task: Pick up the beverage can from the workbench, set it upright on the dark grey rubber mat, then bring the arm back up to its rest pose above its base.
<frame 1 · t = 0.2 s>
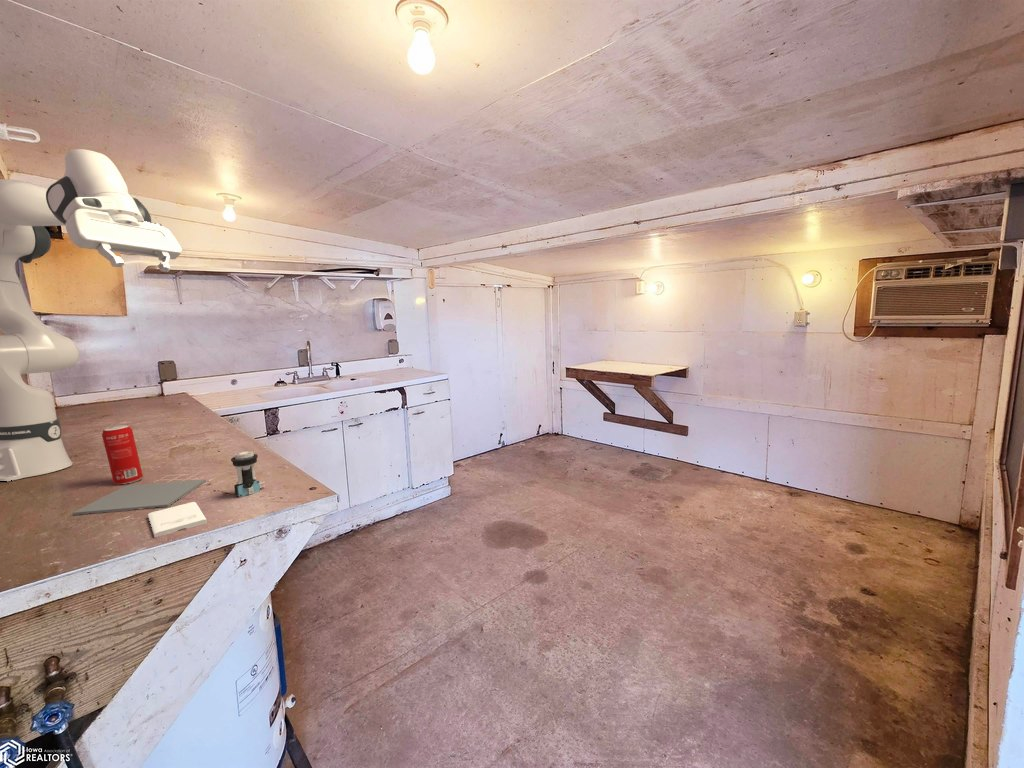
hand: (143, 268, 95), 54 cm above the counter, tool tilted 30°, fingers open, 8 cm apart
beverage can: (126, 482, 109), on the counter
external hard drive: (177, 523, 86), on the counter
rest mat: (145, 496, 98), on the counter
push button: (251, 493, 100), on the counter
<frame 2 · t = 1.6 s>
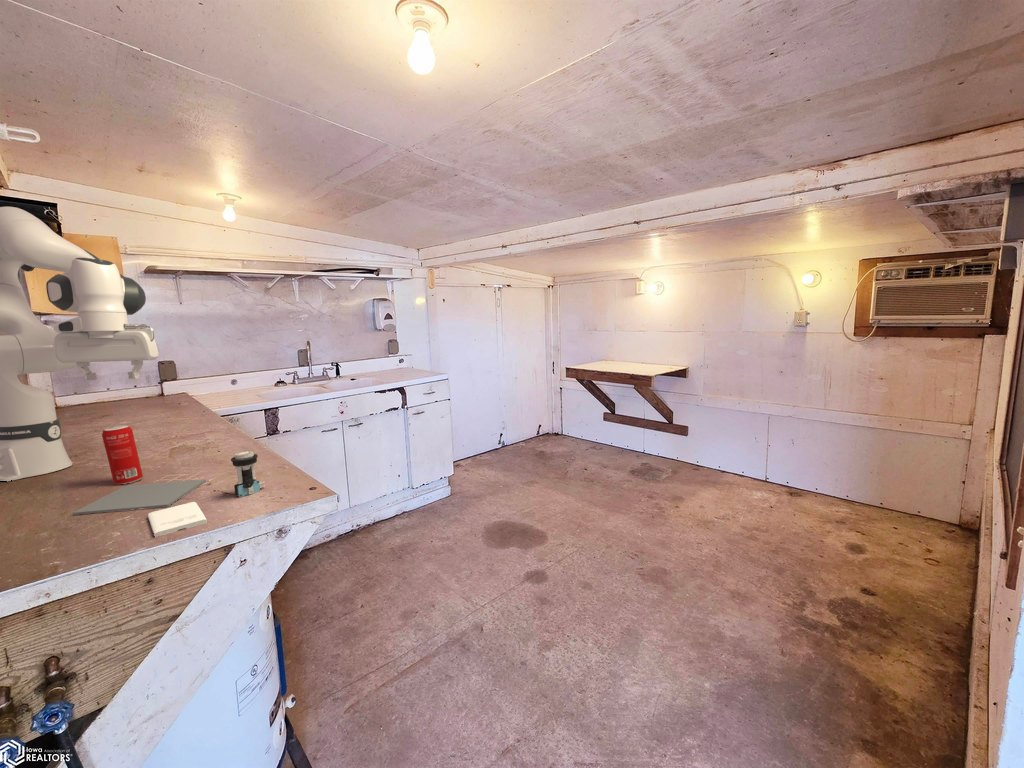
hand: (112, 379, 105), 27 cm above the counter, tool pointing down, fingers open, 8 cm apart
nothing on the counter moved.
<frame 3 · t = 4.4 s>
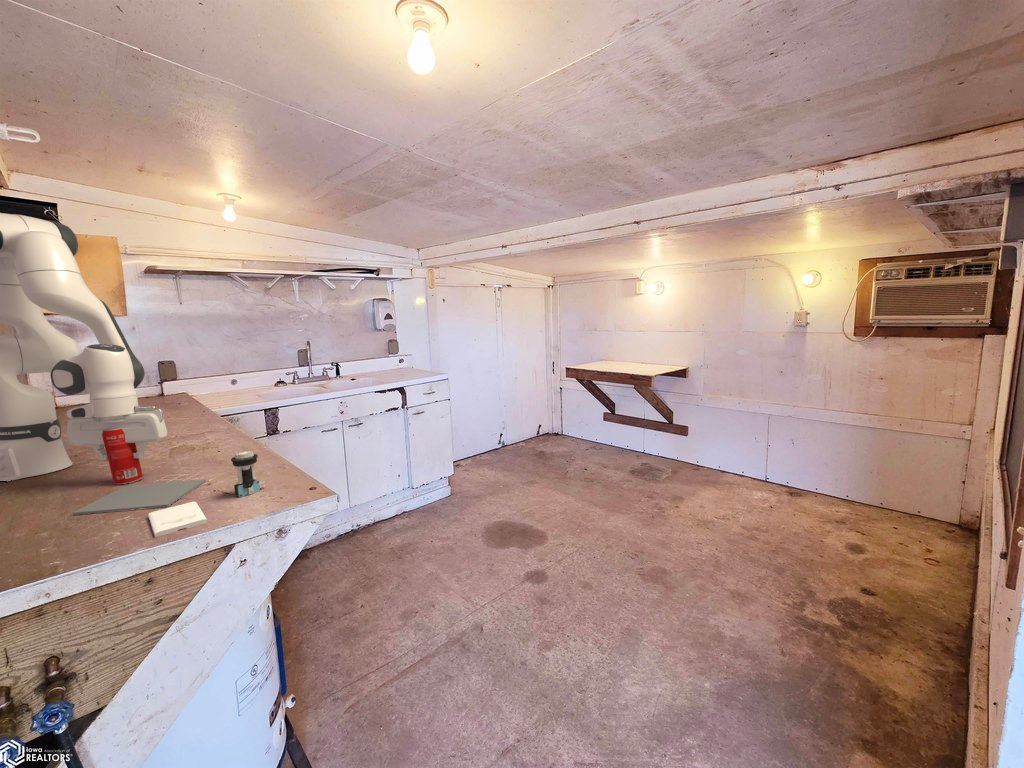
hand: (123, 459, 108), 6 cm above the counter, tool pointing down, fingers open, 6 cm apart
beverage can: (126, 482, 109), on the counter, touching gripper
everything else where it was.
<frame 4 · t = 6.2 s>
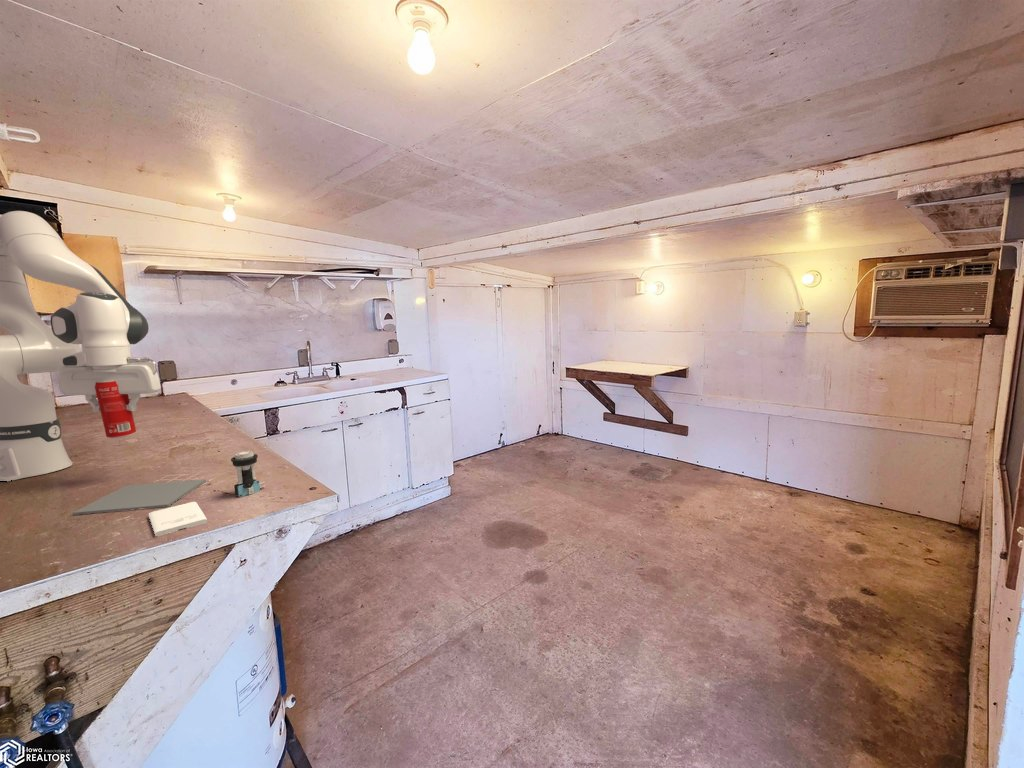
hand: (115, 411, 106), 19 cm above the counter, tool pointing down, fingers closed on beverage can, 6 cm apart
beverage can: (119, 437, 107), point 12 cm above the counter, touching gripper
everything else where it was.
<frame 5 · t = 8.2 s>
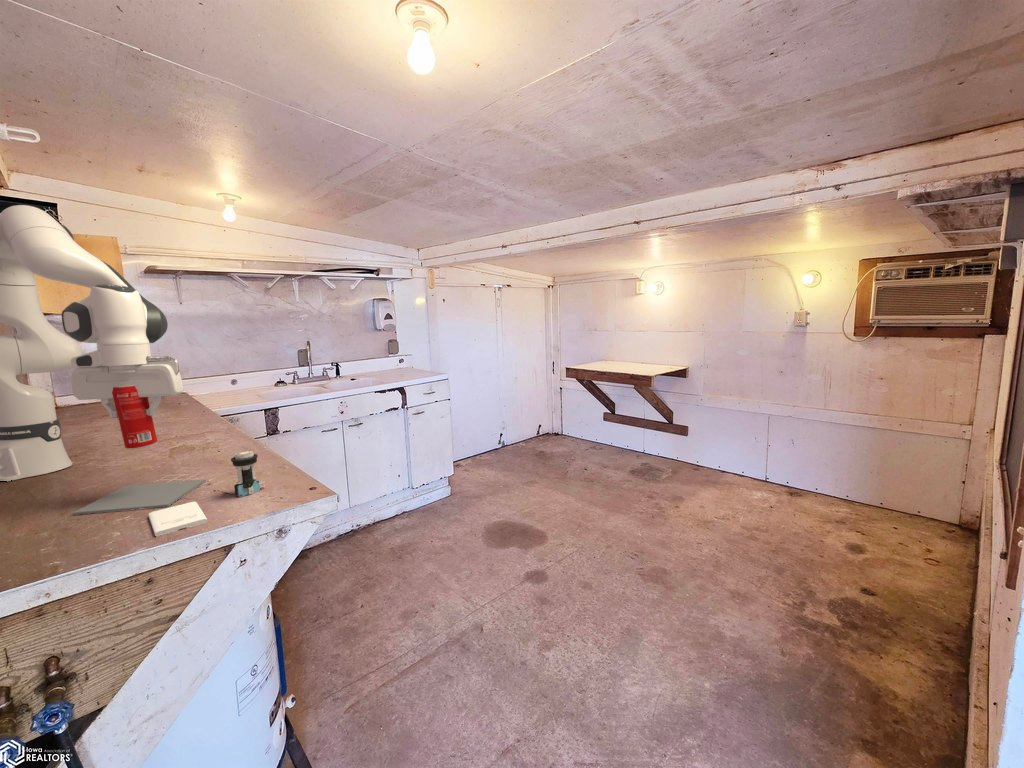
hand: (134, 416, 96), 19 cm above the counter, tool pointing down, fingers closed on beverage can, 6 cm apart
beverage can: (139, 447, 97), point 12 cm above the counter, touching gripper
everything else where it was.
when the fingers open (8 cm above the counter, at t = 11.0 s): beverage can stays where it is, resting on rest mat.
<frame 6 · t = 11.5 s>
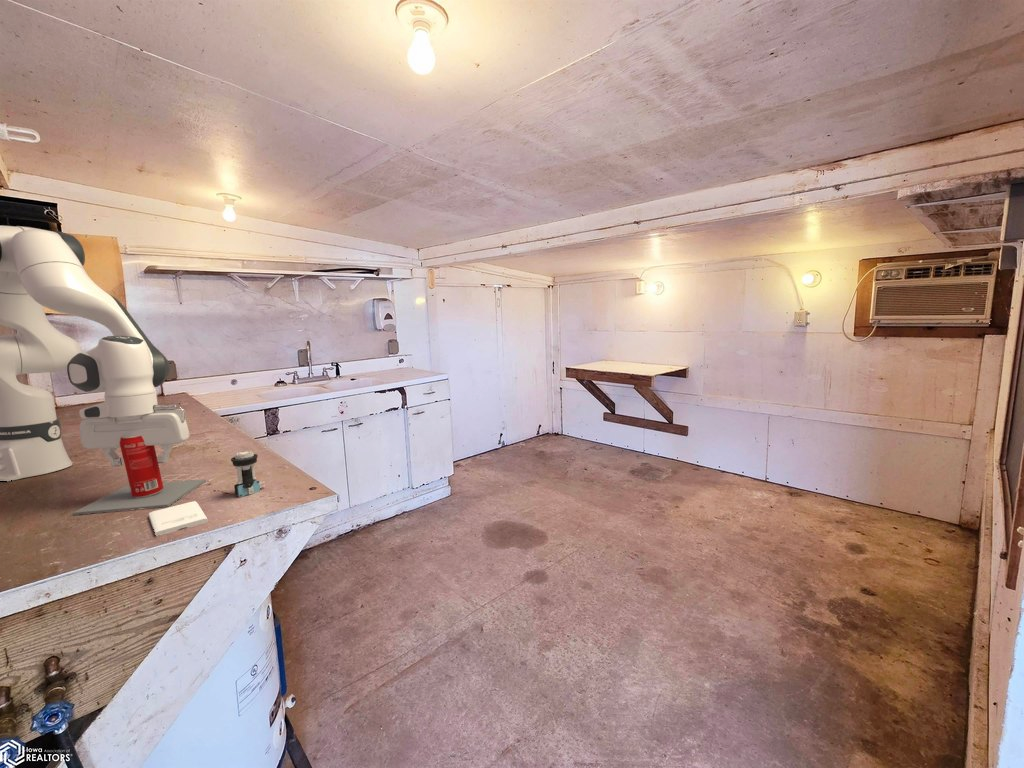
hand: (141, 464, 97), 8 cm above the counter, tool pointing down, fingers open, 8 cm apart
beverage can: (146, 495, 98), resting on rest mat
everything else where it was.
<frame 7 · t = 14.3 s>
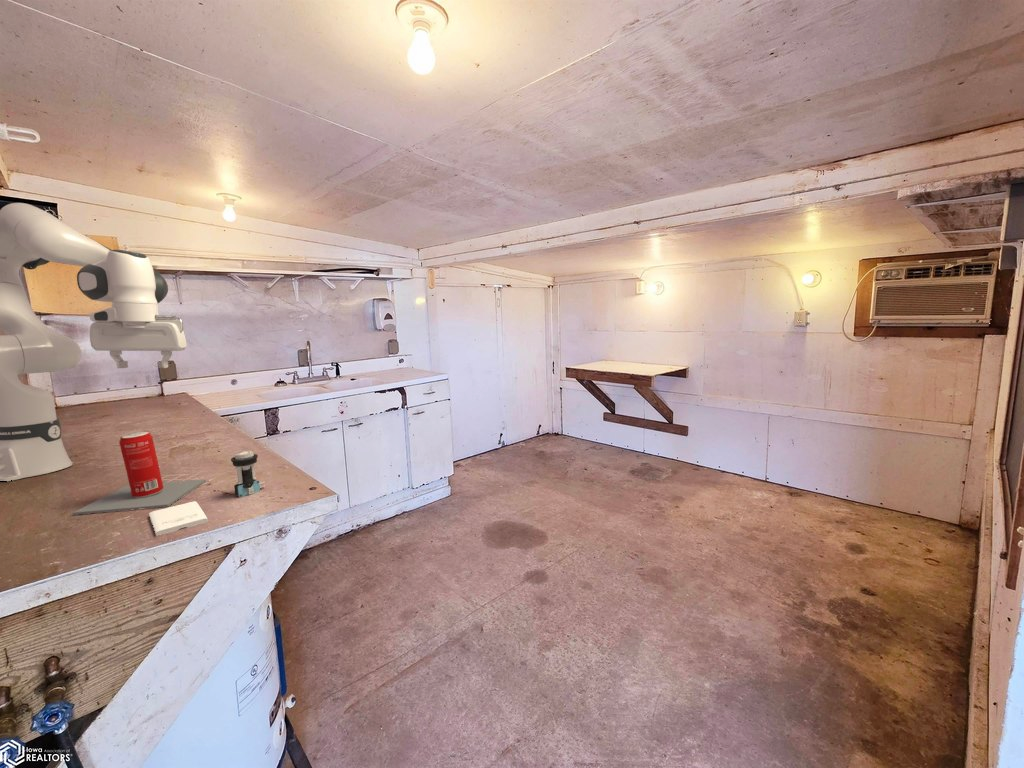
hand: (143, 368, 109), 30 cm above the counter, tool pointing down, fingers open, 8 cm apart
nothing on the counter moved.
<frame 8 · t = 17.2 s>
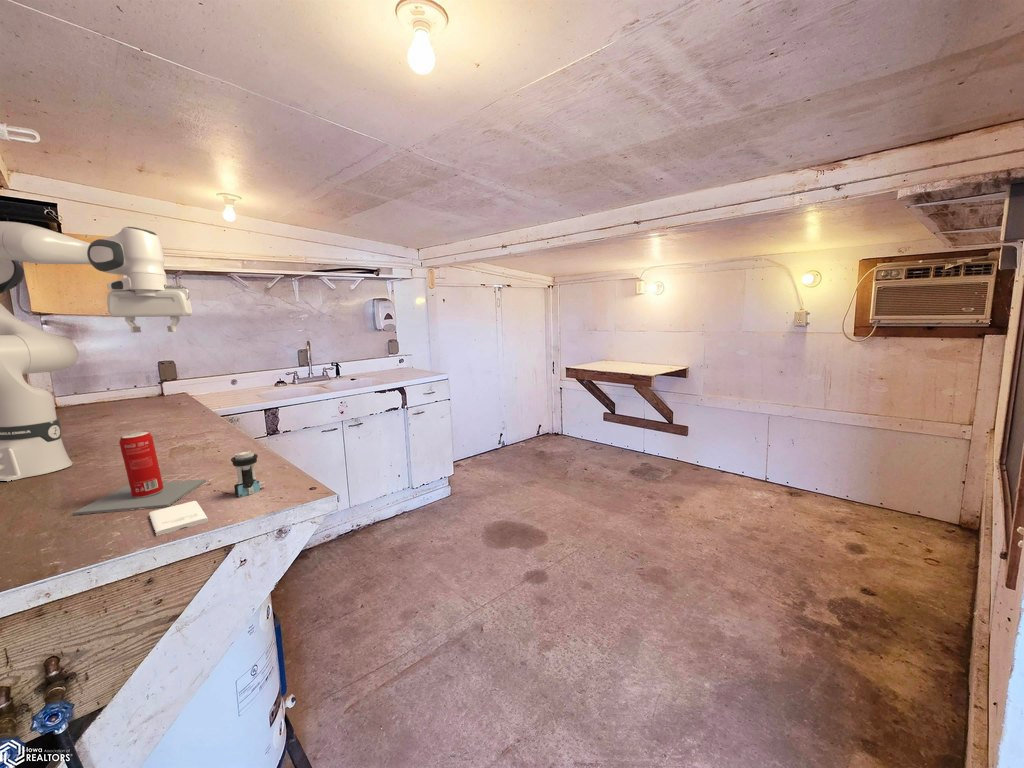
hand: (154, 332, 124), 39 cm above the counter, tool pointing down, fingers open, 8 cm apart
nothing on the counter moved.
at the end: beverage can inside the target area on the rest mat (0.1 cm from its centre), point 0.4 cm above the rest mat's base; beverage can tilted 0°; the gripper is holding nothing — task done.
